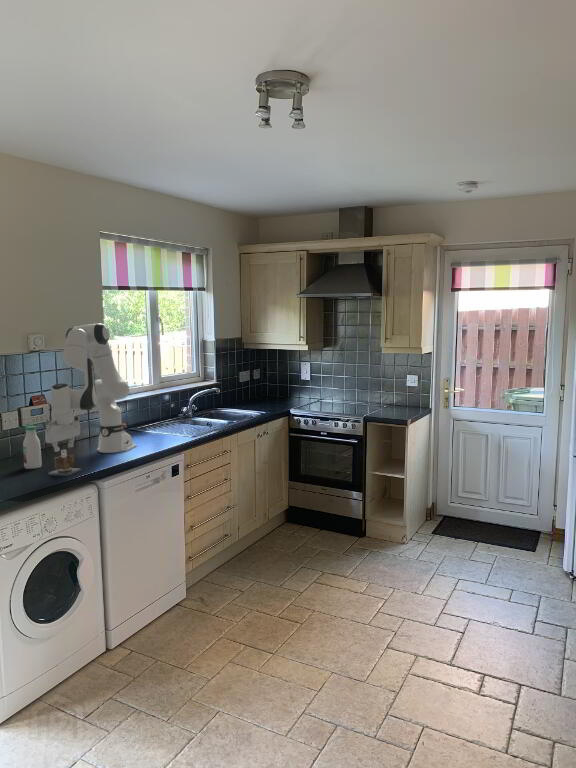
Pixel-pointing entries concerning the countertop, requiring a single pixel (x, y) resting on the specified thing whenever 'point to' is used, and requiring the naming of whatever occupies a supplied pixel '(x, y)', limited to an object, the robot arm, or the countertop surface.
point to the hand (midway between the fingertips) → (64, 449)
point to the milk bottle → (31, 449)
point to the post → (64, 471)
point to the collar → (64, 462)
